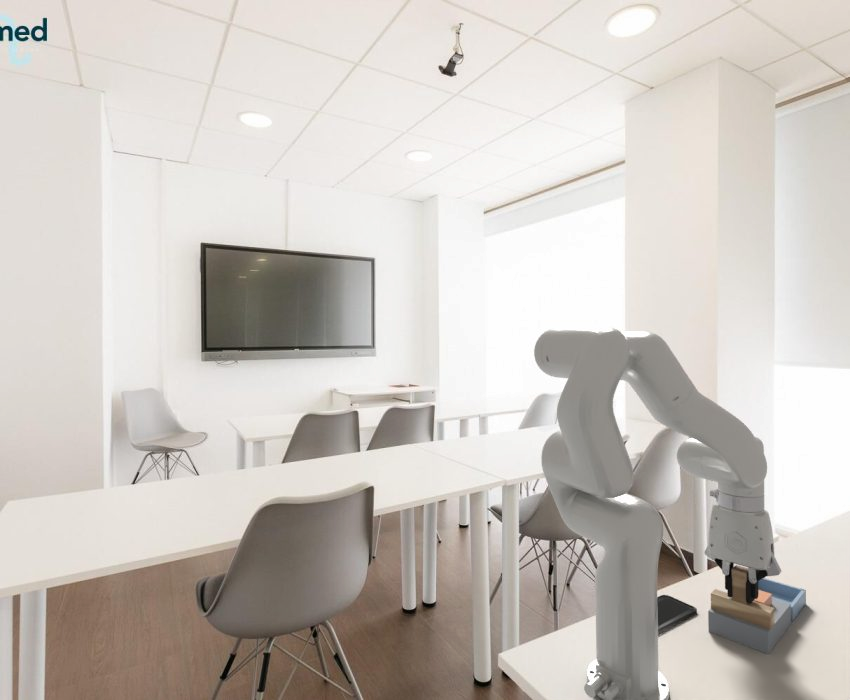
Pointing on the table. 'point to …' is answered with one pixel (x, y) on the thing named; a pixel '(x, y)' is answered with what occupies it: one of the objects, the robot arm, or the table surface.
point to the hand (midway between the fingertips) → (741, 596)
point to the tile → (764, 598)
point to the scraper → (742, 601)
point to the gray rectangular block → (752, 627)
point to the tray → (785, 594)
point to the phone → (672, 612)
